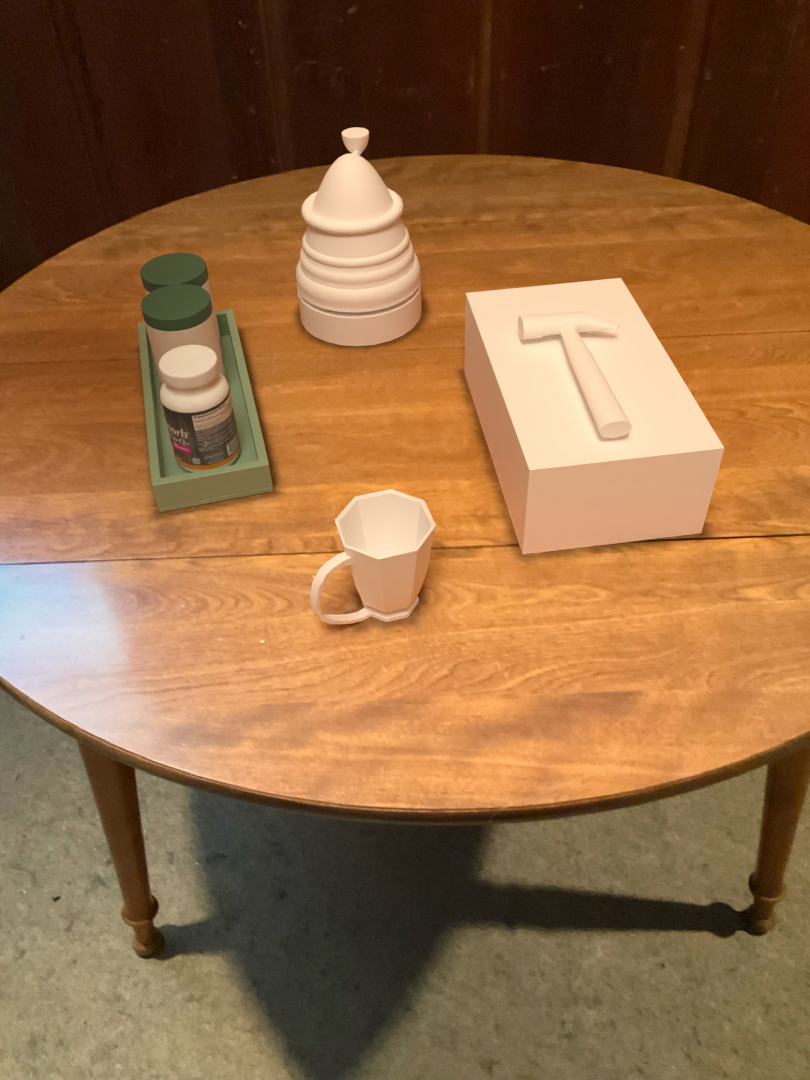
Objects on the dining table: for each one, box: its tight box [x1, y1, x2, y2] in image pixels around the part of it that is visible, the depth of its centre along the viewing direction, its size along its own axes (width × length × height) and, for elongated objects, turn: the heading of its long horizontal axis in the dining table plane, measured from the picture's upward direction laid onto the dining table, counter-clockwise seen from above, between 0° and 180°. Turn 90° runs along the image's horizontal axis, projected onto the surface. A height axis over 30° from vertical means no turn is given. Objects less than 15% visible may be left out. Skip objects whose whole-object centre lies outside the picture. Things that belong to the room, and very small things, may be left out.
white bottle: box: [140, 284, 227, 387], centre depth 84 cm, size 6×6×10 cm
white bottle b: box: [139, 252, 224, 360], centre depth 88 cm, size 6×6×10 cm
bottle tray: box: [136, 308, 274, 513], centre depth 85 cm, size 26×10×3 cm, turn 14°
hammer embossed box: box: [463, 277, 725, 555], centre depth 78 cm, size 14×25×11 cm, turn 8°
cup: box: [309, 488, 437, 625], centre depth 66 cm, size 7×10×8 cm
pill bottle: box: [159, 345, 240, 472], centre depth 78 cm, size 6×6×10 cm
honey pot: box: [295, 126, 423, 347], centre depth 92 cm, size 13×13×18 cm
